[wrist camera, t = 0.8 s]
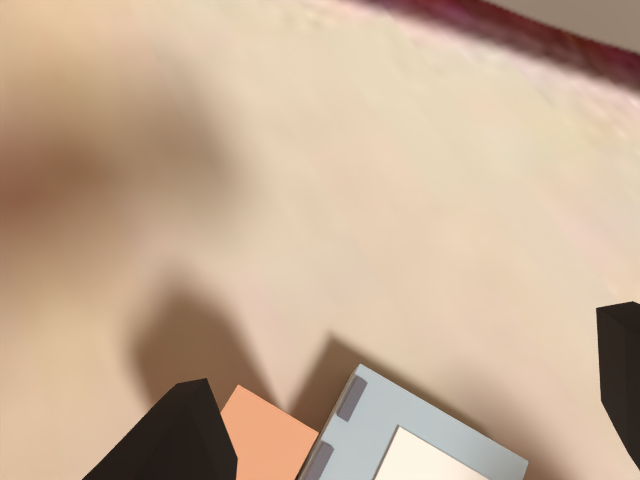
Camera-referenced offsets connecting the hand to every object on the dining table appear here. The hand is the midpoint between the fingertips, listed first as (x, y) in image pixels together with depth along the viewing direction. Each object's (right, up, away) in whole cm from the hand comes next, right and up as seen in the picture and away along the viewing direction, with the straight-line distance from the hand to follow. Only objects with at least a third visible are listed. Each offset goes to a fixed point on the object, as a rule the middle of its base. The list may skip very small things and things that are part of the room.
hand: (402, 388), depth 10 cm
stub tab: (-5, -7, +13) cm, 15 cm away
